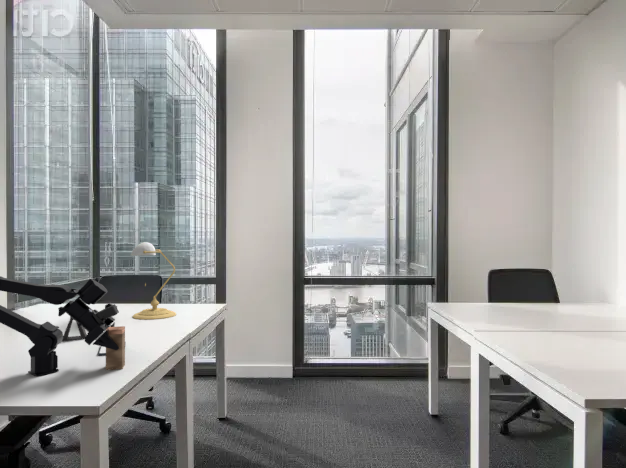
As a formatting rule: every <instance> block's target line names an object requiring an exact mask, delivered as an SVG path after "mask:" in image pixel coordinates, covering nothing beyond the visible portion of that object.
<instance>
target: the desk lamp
mask: <svg viewBox="0 0 626 468" xmlns="http://www.w3.org/2000/svg"><path fill="white" fill-rule="evenodd" d="M157 254H161V255H162V257H163V258H165V260H166V261H167V262H168V263H169V264H170V265H171V266H172V268H173V270H172V273H171V274H170V276H169V277H168V278H167V279H166V280H165V282H164V283H163V284H162V286H161V287H160V288H159V289H158V291H157V292H156V293H155V295H154V296H153V299H152V300H151V301H150V306H152V308H151V307H150V308H145V309H142V310H141V311H139V312H137V313H134V314H133V315H132V319H135V320H142V321H144V320H145V321H147V320H149V321H150V320H165V319H169V318H173V317H175V316H176V315H177V313H176V312H175V311H172V310H169V309H168V308H164V307H158V306H159V304H160V302H159V301H158V300H157V297H158V294H160V292H161V291H162V289H163V288H164V287H165V286H166V284H167V283H168V282H169V280H170V279H171V278H172V277H173V275H174V274H175V272H176V267H175V265H174V263H172V262H171V261H170V259H168V257H167V256H166V255H165V254H164V253H163V252H162V250H161V249H157V248H155V246H154V244H152V243H151V242H147V241H144V242H141V243H139V244H137V245H136V246H135V247H134V248H133V250H132V251H131V253H130V255H129V256H131V257H132V256H133V257H134V256H135V257H137V256H138V257H140V256H141V257H142V256H143V257H144V256H145V257H148V256H156V255H157ZM146 286H147V283H144V287H146Z"/></svg>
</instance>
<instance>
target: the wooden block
mask: <svg viewBox="0 0 626 468" xmlns="http://www.w3.org/2000/svg"><path fill="white" fill-rule="evenodd" d="M108 328H109V336H110V337H111V338H112V339H113V340H114V342H115V343H116V344H117V345H118V346H119V349H118V350H114V349H110V348H106V356H105V371H113V370H114V371H116V370H123V368H124V367H125V366H126V326H123V325H122V326H115V327H108ZM108 328H107V329H108Z"/></svg>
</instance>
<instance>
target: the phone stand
mask: <svg viewBox="0 0 626 468" xmlns="http://www.w3.org/2000/svg"><path fill="white" fill-rule="evenodd" d="M73 321H75V320H74V319H73V318H72V317H70V316H69V321H68V324H67V326H66V328H65V330H64V333H63V340H62V341H61V342H68V341H69V342H70V341H77V340H78V341H80V340H81V341H82V340H85V337H86V336H87V335H88V334H87V331H86V329H84V328H83V327H82V326H80V327H79V326H78V324H79V323H77V322H76V326H77V329H78V331H79V332H78V333H79V335H75V336H74V335H73V336H69V335H70V331H71V328H72V325H73Z"/></svg>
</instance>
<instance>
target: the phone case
mask: <svg viewBox="0 0 626 468" xmlns="http://www.w3.org/2000/svg"><path fill="white" fill-rule="evenodd" d="M99 347H100V348H99V350H98V353H97V355H98V356H99V357H104V356H105V357H106V347H103V346H99Z"/></svg>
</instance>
